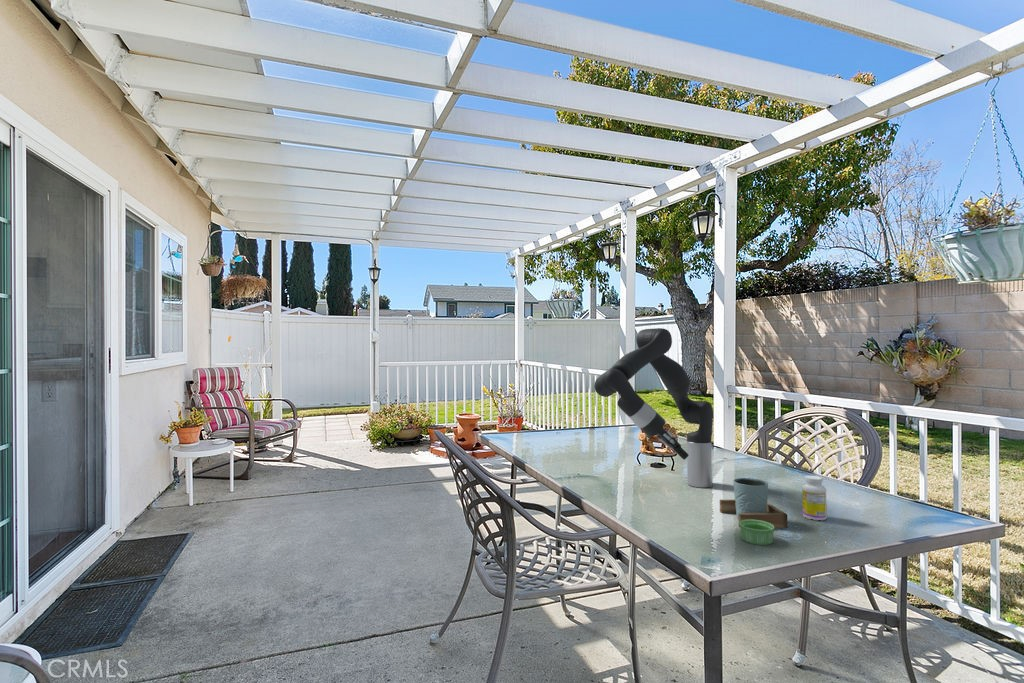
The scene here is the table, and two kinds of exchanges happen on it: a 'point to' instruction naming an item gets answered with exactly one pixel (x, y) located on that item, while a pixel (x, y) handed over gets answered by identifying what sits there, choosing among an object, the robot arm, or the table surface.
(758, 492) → the blue-grey plant pot
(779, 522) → the brown piece
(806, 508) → the supplement bottle
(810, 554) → the table surface
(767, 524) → the ramekin
